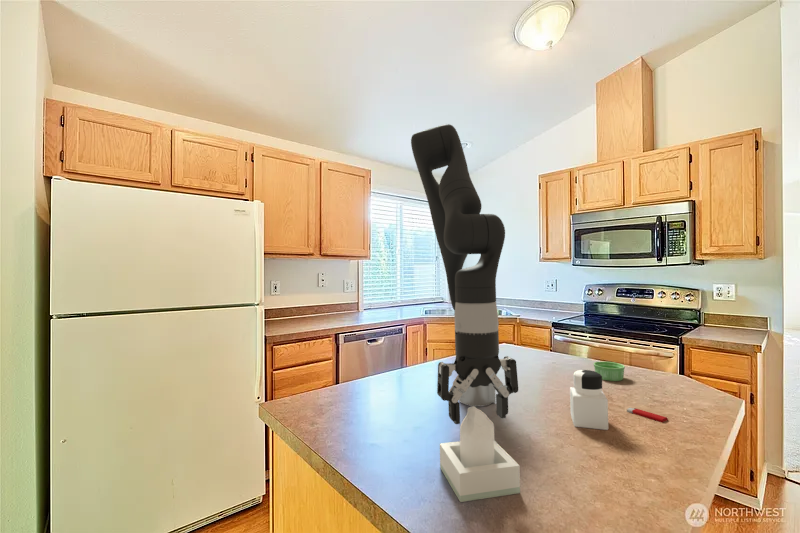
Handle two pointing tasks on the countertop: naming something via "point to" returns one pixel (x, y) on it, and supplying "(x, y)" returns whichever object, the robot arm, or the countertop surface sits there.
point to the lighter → (647, 414)
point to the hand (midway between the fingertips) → (478, 419)
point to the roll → (476, 439)
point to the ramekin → (610, 370)
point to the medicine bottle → (588, 401)
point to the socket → (480, 474)
